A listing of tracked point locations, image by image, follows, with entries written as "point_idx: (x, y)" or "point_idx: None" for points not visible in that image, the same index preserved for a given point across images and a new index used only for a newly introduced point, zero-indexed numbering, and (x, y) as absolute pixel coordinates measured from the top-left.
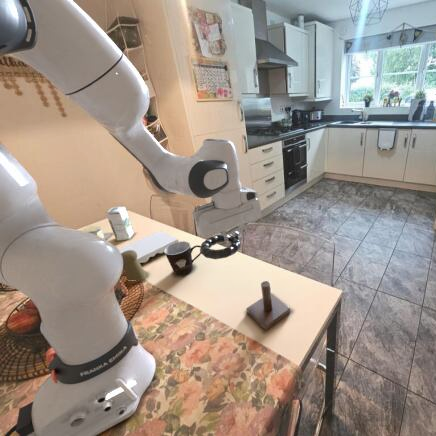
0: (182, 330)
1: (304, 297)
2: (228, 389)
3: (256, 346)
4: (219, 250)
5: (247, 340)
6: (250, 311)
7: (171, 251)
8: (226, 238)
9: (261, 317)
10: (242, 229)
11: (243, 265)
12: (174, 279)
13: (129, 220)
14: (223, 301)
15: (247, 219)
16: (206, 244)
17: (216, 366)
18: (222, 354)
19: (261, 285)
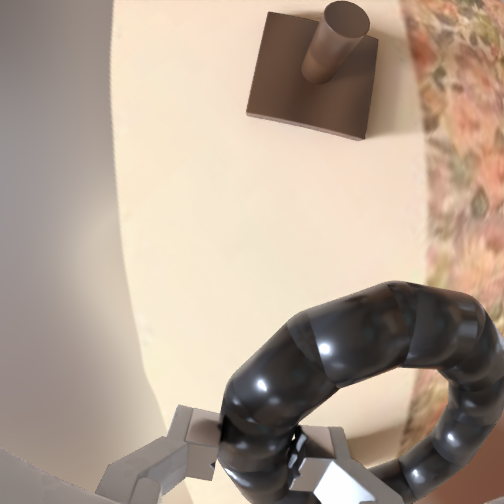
0: (485, 264)
1: (181, 21)
2: (500, 55)
3: (420, 44)
4: (488, 363)
5: (424, 74)
6: (367, 115)
7: None
8: (348, 460)
9: (361, 67)
10: (147, 453)
11: (176, 344)
12: (360, 448)
13: None
14: (368, 255)
15: (26, 499)
16: (432, 478)
17: (497, 105)
18: (479, 111)
19: (368, 28)
